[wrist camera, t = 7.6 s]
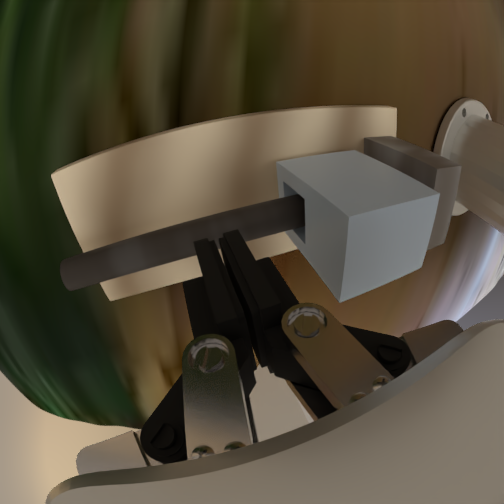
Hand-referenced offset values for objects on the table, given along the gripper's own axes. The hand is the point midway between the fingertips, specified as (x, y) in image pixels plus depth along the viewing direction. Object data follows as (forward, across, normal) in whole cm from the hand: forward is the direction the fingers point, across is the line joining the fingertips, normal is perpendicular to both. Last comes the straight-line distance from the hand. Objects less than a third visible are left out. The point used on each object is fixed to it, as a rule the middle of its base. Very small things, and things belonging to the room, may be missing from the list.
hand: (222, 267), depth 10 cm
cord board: (+6, -3, 0) cm, 7 cm away
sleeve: (+5, -7, 0) cm, 8 cm away
